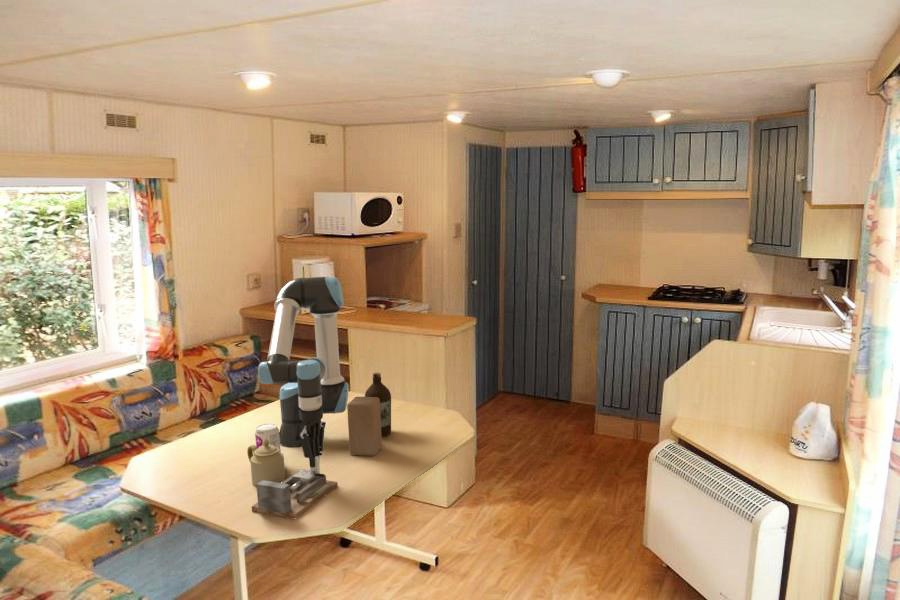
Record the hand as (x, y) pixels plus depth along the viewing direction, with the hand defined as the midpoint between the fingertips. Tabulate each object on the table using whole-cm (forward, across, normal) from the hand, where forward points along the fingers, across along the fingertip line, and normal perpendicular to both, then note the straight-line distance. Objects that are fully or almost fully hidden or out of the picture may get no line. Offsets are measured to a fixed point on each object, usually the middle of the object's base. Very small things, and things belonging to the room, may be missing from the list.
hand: (315, 474), depth 227 cm
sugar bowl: (+4, -3, +19) cm, 20 cm away
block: (+3, +31, -2) cm, 31 cm away
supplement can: (+3, +7, +24) cm, 25 cm away
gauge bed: (+3, -11, 0) cm, 12 cm away
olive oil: (+3, +49, +2) cm, 49 cm away
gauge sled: (+2, -8, -2) cm, 8 cm away
